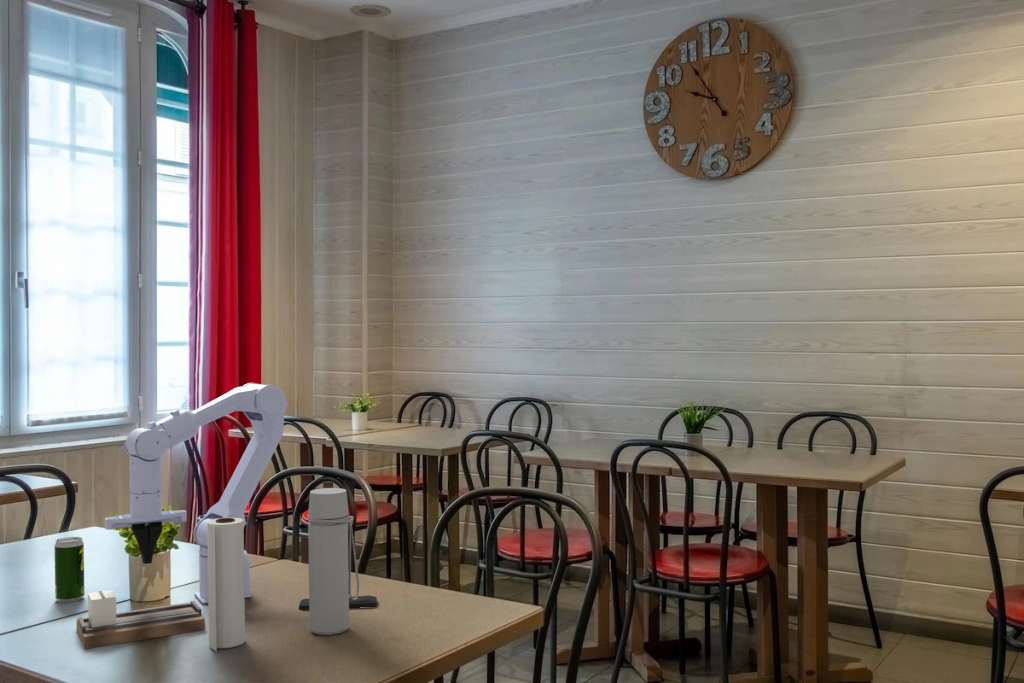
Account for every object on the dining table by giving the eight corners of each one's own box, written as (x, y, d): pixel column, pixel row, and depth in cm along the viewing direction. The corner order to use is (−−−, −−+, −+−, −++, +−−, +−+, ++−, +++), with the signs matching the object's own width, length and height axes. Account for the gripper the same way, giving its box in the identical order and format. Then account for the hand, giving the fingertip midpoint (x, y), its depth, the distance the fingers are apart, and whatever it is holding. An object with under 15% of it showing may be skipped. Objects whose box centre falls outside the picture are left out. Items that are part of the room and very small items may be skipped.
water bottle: (315, 639, 170) (313, 496, 169) (303, 627, 177) (301, 489, 176) (366, 631, 174) (364, 491, 174) (352, 619, 181) (350, 485, 181)
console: (191, 612, 187) (190, 596, 187) (205, 629, 176) (204, 613, 176) (76, 629, 177) (76, 613, 177) (84, 648, 166) (84, 631, 166)
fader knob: (112, 616, 176) (112, 589, 176) (116, 623, 172) (116, 596, 172) (88, 620, 174) (87, 592, 174) (91, 627, 170) (91, 599, 170)
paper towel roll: (231, 635, 173) (230, 514, 172) (252, 642, 169) (250, 519, 168) (195, 646, 167) (193, 521, 167) (216, 653, 163) (214, 525, 163)
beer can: (57, 604, 193) (56, 543, 192) (53, 598, 197) (52, 538, 197) (87, 600, 196) (86, 540, 195) (82, 594, 200) (81, 535, 200)
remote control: (297, 615, 188) (376, 609, 189) (297, 606, 188) (376, 600, 189) (301, 607, 193) (378, 602, 194) (300, 598, 193) (377, 593, 194)
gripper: (181, 485, 194) (182, 553, 194) (102, 492, 187) (103, 563, 187) (188, 490, 188) (189, 561, 188) (107, 497, 181) (108, 571, 181)
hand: (147, 562), depth 187 cm, fingers closed
